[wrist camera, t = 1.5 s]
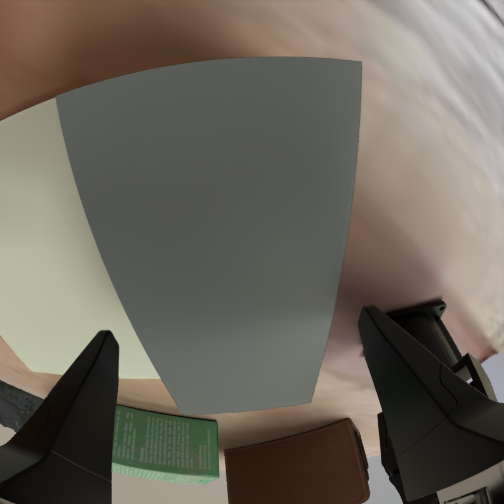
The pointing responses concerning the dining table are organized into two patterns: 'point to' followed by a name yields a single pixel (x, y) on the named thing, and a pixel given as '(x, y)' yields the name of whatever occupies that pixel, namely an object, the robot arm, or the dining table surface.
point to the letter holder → (301, 469)
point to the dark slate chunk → (16, 406)
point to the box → (164, 447)
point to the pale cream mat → (53, 255)
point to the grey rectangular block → (222, 216)
